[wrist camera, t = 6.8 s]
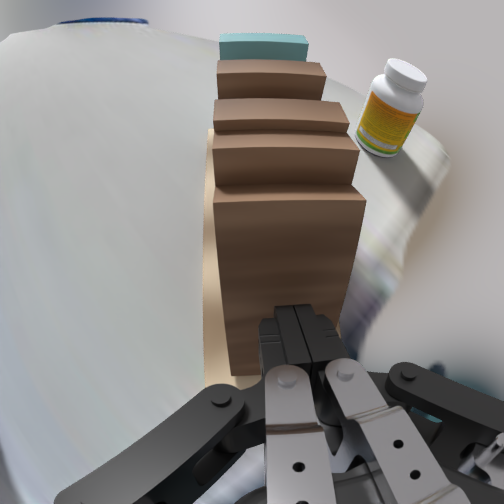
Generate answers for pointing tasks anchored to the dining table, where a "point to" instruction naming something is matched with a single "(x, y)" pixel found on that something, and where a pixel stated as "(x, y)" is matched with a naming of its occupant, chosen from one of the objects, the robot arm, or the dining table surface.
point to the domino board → (216, 296)
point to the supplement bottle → (391, 108)
